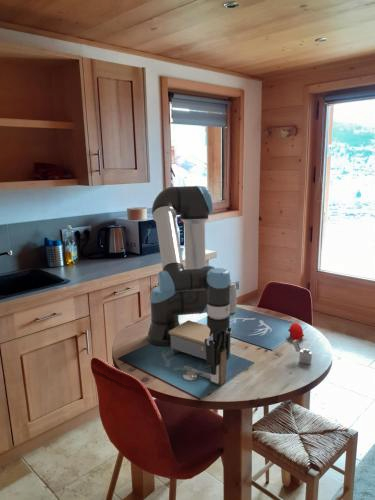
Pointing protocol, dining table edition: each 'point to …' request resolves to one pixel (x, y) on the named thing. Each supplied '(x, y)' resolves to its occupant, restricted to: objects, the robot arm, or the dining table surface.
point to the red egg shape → (296, 331)
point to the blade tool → (220, 362)
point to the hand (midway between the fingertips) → (218, 378)
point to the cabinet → (190, 339)
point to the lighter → (303, 353)
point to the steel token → (190, 376)
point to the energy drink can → (232, 298)
